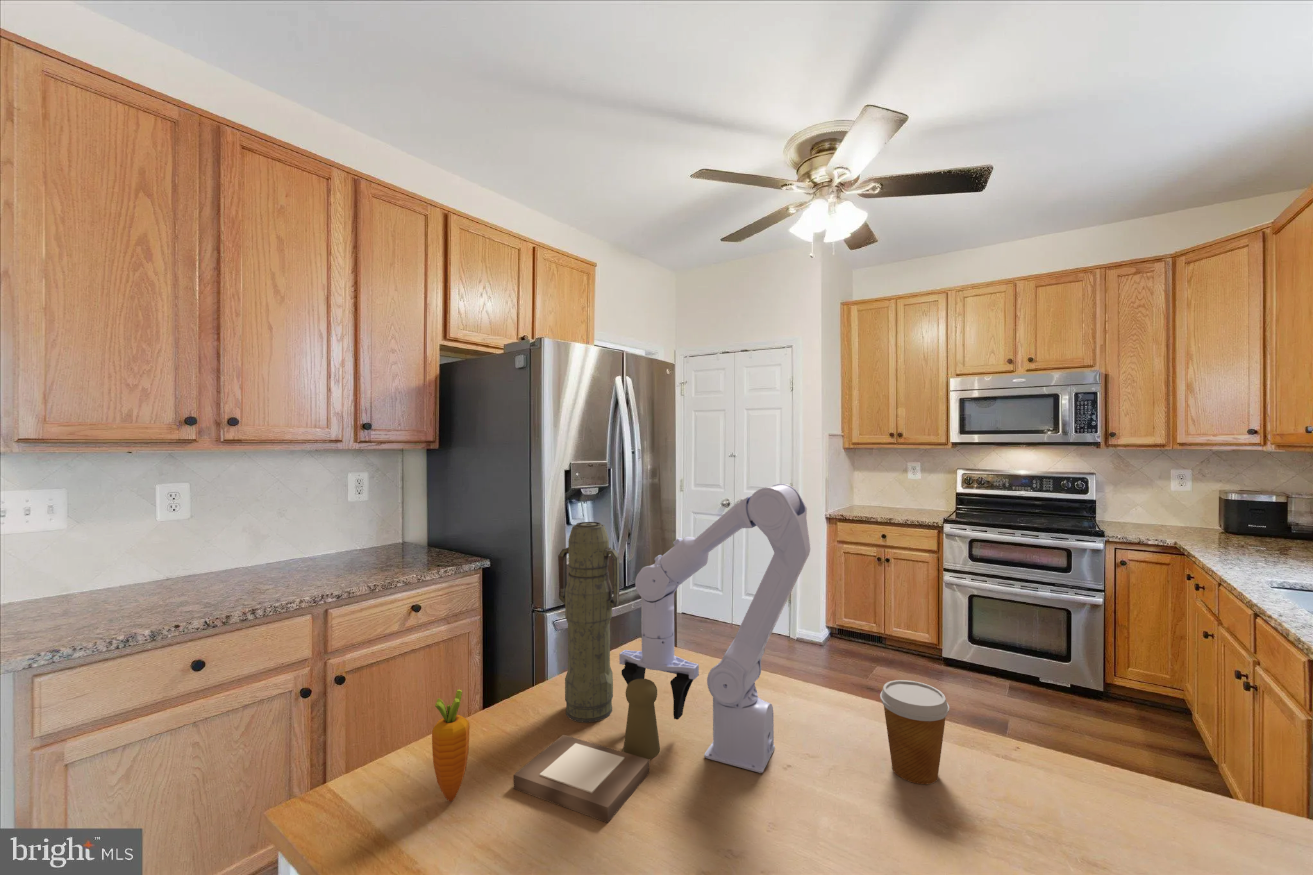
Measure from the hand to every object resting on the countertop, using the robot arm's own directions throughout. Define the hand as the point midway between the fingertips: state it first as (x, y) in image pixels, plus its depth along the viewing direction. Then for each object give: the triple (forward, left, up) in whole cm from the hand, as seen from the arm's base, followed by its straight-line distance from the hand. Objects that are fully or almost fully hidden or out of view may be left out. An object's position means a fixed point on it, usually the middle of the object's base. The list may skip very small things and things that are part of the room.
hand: (658, 711), depth 93 cm
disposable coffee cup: (-40, -7, -4) cm, 41 cm away
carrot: (+18, +29, -4) cm, 34 cm away
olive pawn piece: (0, +6, -4) cm, 7 cm away
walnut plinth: (+4, +17, -3) cm, 18 cm away
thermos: (+15, -1, -4) cm, 15 cm away
